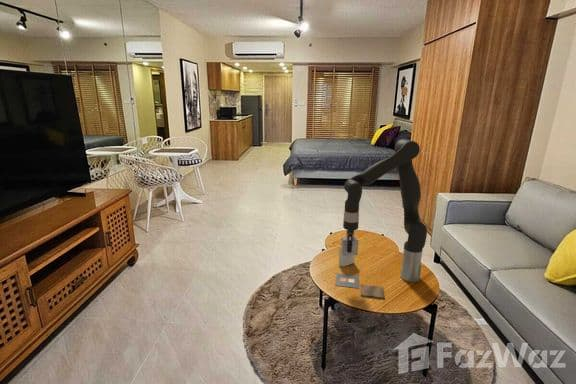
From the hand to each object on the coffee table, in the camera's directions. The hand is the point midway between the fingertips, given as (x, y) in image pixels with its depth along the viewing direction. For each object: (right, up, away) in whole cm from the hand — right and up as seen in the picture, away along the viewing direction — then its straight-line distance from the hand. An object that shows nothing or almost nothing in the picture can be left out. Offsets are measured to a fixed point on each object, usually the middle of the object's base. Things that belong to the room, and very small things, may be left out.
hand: (349, 249), depth 161 cm
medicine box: (0, -3, +1) cm, 3 cm away
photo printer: (+3, -13, +22) cm, 26 cm away
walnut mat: (+10, -21, -5) cm, 23 cm away
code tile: (0, -18, +5) cm, 18 cm away
